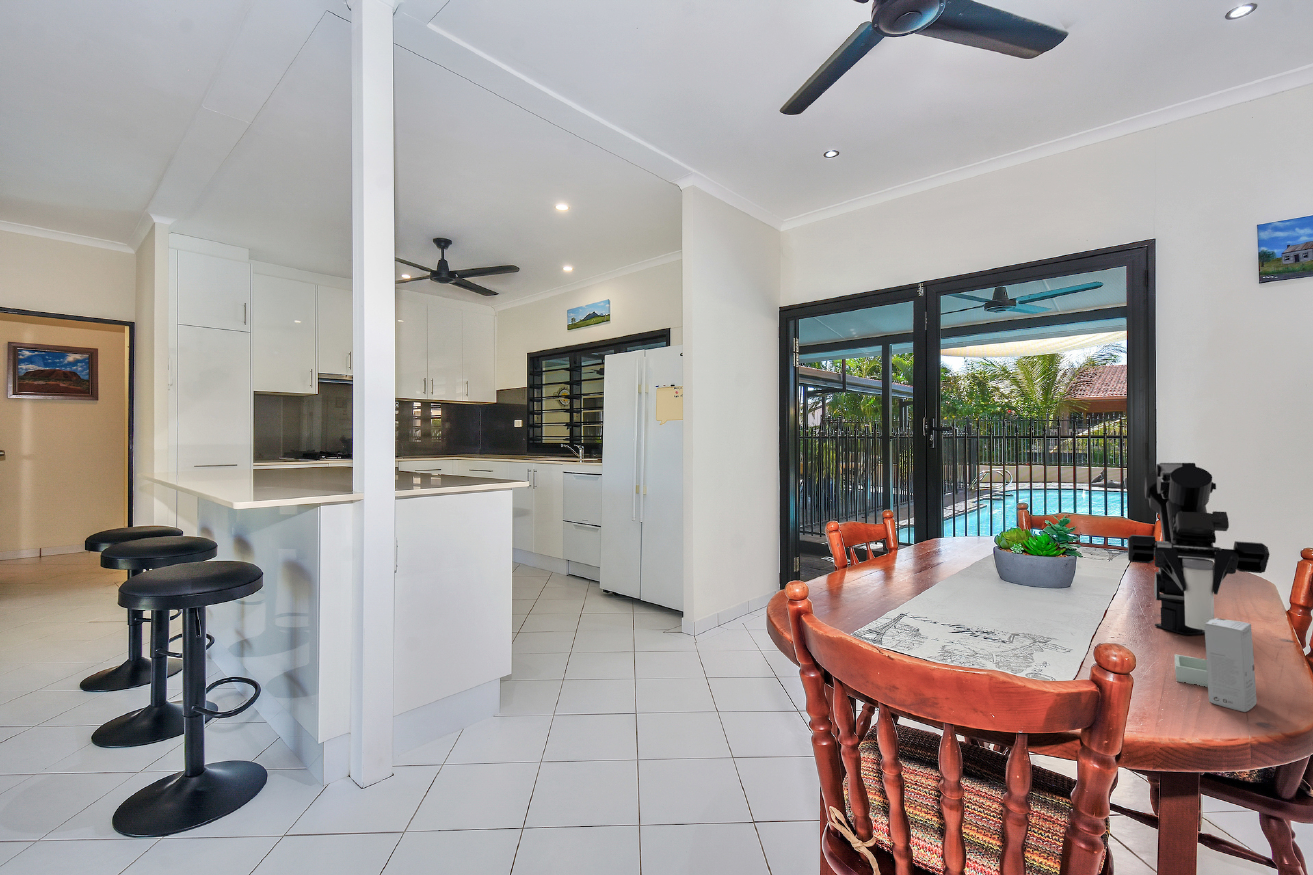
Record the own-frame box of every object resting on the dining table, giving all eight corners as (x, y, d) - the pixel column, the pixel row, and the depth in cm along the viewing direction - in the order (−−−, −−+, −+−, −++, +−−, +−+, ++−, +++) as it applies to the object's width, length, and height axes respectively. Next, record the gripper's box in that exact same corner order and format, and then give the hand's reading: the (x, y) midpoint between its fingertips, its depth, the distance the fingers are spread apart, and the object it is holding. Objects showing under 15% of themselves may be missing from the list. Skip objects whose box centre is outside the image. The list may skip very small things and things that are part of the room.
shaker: (1197, 622, 103) (1195, 557, 104) (1221, 629, 99) (1219, 561, 100) (1178, 623, 103) (1176, 558, 103) (1202, 630, 99) (1200, 562, 99)
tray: (1174, 668, 100) (1174, 654, 100) (1232, 678, 95) (1232, 663, 95) (1176, 680, 94) (1175, 665, 94) (1238, 692, 89) (1237, 677, 89)
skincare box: (1247, 713, 82) (1244, 630, 83) (1205, 702, 86) (1203, 623, 87) (1257, 702, 86) (1255, 623, 86) (1217, 692, 90) (1214, 616, 90)
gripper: (1127, 493, 110) (1132, 558, 101) (1264, 497, 99) (1285, 571, 90) (1125, 528, 116) (1130, 593, 107) (1255, 536, 105) (1273, 609, 96)
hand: (1199, 591), depth 100 cm, fingers closed on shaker, 4 cm apart
